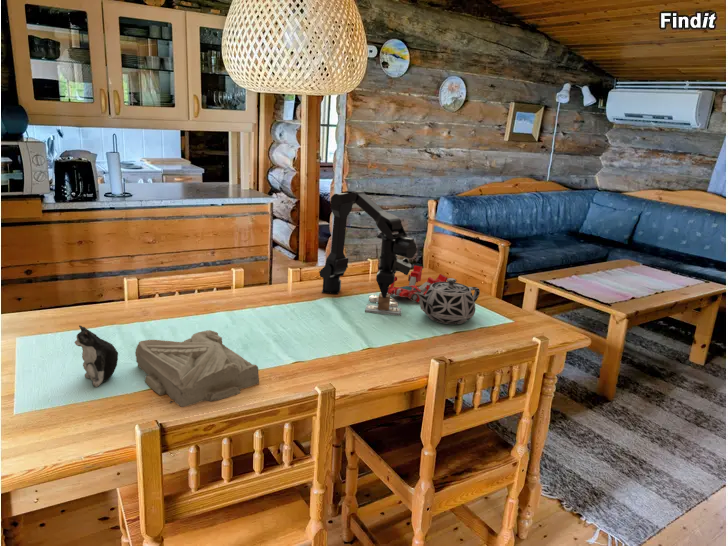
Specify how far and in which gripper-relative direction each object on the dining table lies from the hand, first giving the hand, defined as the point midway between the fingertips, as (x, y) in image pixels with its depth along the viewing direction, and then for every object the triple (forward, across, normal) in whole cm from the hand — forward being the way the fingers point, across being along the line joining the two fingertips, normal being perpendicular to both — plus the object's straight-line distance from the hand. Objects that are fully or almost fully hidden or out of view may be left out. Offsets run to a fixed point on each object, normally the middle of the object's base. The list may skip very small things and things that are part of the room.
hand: (385, 293), depth 204 cm
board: (+7, 0, 0) cm, 7 cm away
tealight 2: (+7, +9, -2) cm, 12 cm away
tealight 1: (+7, +10, +5) cm, 13 cm away
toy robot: (+7, +24, -11) cm, 28 cm away
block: (+6, 0, 0) cm, 6 cm away
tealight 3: (+7, +5, -3) cm, 9 cm away
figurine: (+7, -72, +68) cm, 99 cm away
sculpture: (+7, -64, +45) cm, 78 cm away
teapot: (+7, -1, -22) cm, 23 cm away
